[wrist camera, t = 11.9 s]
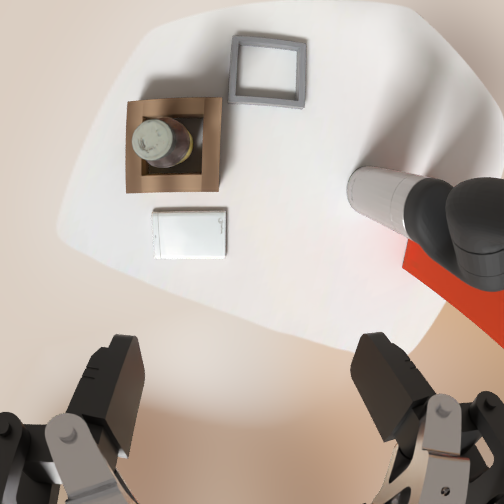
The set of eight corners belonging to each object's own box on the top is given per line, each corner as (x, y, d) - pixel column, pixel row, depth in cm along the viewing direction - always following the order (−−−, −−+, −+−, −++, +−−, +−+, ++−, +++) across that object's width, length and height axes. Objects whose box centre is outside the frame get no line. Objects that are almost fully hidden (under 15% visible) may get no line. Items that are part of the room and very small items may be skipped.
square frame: (302, 47, 37) (306, 43, 36) (300, 109, 41) (304, 107, 40) (232, 39, 36) (232, 35, 34) (227, 103, 40) (228, 101, 38)
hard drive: (226, 212, 45) (150, 213, 43) (225, 259, 48) (154, 260, 46) (225, 210, 47) (152, 211, 45) (225, 255, 49) (155, 256, 48)
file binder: (440, 193, 50) (559, 239, 20) (426, 266, 56) (524, 339, 26) (415, 188, 49) (546, 236, 19) (401, 267, 55) (505, 351, 25)
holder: (221, 103, 40) (222, 97, 35) (218, 187, 45) (218, 191, 40) (136, 106, 38) (127, 101, 33) (135, 188, 43) (126, 193, 38)
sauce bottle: (154, 162, 42) (110, 170, 23) (159, 124, 40) (119, 106, 21) (193, 166, 43) (175, 176, 24) (199, 128, 41) (185, 110, 22)
